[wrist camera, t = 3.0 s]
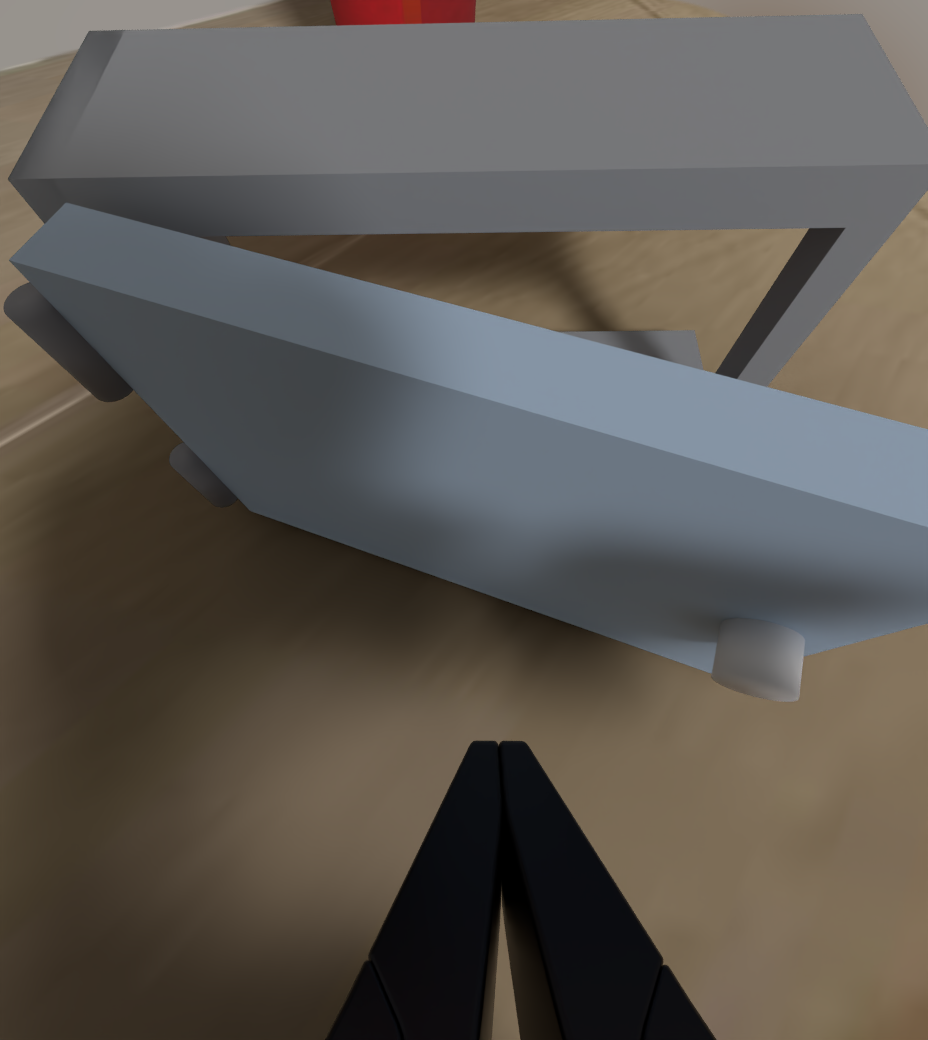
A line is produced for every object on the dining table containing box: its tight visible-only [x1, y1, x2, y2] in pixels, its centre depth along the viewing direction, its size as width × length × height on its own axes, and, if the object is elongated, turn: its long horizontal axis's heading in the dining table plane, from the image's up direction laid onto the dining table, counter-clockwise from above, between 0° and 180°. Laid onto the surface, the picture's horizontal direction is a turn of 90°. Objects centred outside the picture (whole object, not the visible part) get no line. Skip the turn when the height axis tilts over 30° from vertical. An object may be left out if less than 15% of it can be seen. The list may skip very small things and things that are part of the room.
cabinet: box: [8, 14, 928, 387], centre depth 15 cm, size 5×17×10 cm, turn 90°
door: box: [4, 203, 928, 702], centre depth 12 cm, size 3×17×10 cm, turn 70°
